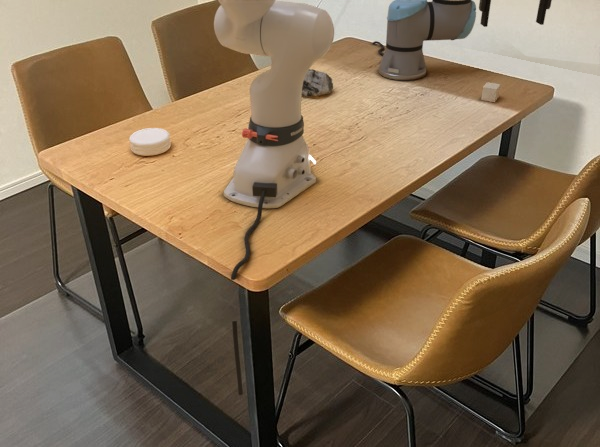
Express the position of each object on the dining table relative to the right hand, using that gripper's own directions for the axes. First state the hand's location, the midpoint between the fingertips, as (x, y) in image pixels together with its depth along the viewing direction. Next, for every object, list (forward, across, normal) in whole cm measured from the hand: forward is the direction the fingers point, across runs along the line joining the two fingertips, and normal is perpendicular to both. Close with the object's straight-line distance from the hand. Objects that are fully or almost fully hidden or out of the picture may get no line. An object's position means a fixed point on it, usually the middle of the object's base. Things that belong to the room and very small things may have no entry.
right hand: (511, 24), depth 147 cm
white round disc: (+28, -89, 0) cm, 93 cm away
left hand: (-20, -42, +9) cm, 48 cm away
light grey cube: (+28, +7, +24) cm, 37 cm away
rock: (+28, -45, +36) cm, 64 cm away
